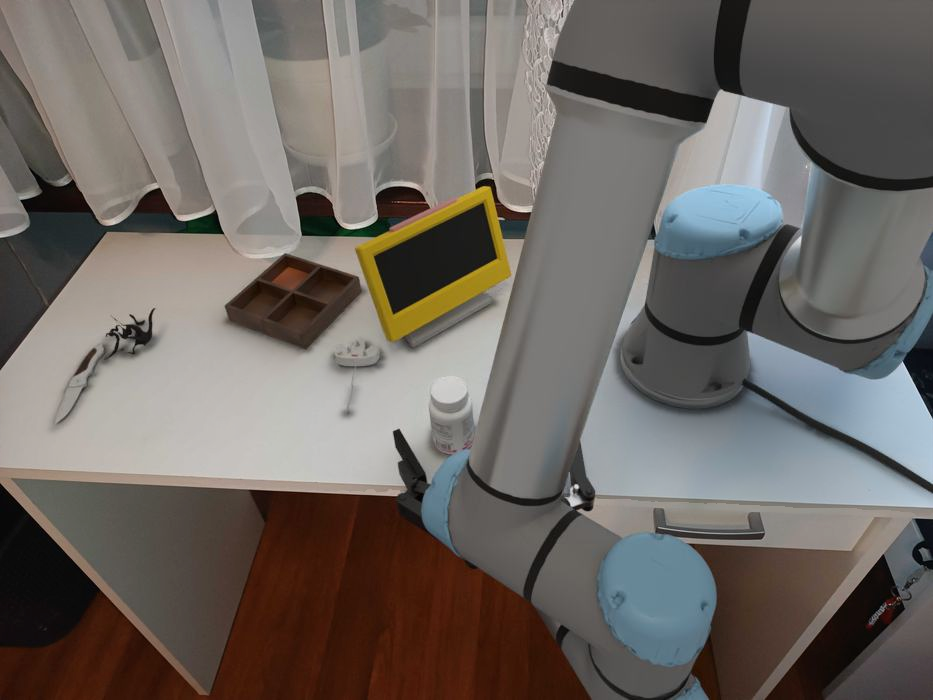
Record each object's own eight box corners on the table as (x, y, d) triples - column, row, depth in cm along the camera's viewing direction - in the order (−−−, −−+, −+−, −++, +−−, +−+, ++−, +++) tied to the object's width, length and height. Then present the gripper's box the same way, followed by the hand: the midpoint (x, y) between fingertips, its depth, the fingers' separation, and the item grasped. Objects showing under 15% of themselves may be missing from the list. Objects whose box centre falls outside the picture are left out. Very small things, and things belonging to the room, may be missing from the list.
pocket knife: (109, 348, 94) (94, 347, 94) (107, 343, 94) (92, 342, 94) (64, 426, 84) (48, 426, 84) (62, 422, 84) (45, 421, 84)
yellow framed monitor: (395, 362, 90) (379, 263, 79) (361, 331, 94) (342, 233, 83) (512, 295, 99) (512, 197, 88) (476, 269, 103) (472, 173, 92)
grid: (361, 291, 100) (359, 276, 99) (305, 349, 92) (301, 334, 90) (288, 267, 105) (284, 252, 103) (229, 320, 97) (224, 305, 95)
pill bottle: (465, 417, 83) (462, 367, 77) (480, 447, 80) (478, 397, 74) (427, 430, 82) (420, 380, 76) (440, 460, 79) (435, 411, 73)
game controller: (377, 340, 93) (374, 326, 91) (394, 404, 85) (392, 389, 83) (334, 349, 92) (330, 335, 90) (347, 414, 84) (344, 400, 82)
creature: (95, 364, 93) (138, 367, 90) (71, 334, 90) (115, 336, 87) (133, 326, 99) (175, 327, 95) (111, 296, 95) (154, 296, 92)
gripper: (439, 660, 61) (351, 481, 75) (670, 536, 68) (552, 394, 82) (433, 621, 56) (340, 436, 69) (684, 491, 63) (555, 348, 77)
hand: (455, 413), depth 76 cm, fingers open, 13 cm apart
